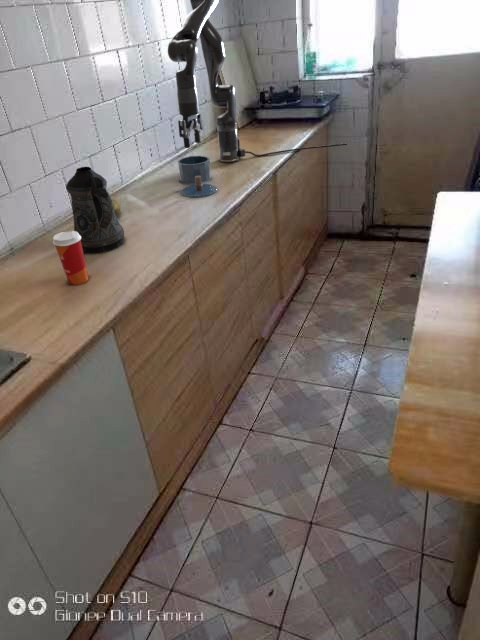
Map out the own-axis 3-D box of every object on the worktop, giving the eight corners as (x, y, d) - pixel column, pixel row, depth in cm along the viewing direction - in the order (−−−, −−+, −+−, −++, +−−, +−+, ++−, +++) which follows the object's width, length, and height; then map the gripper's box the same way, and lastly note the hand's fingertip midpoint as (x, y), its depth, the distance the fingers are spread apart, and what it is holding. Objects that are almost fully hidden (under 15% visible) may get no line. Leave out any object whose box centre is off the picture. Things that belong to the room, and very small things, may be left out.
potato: (129, 210, 184) (125, 190, 179) (112, 223, 174) (107, 202, 169) (111, 209, 186) (106, 189, 182) (92, 222, 176) (87, 201, 172)
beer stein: (94, 231, 169) (76, 159, 155) (142, 235, 163) (128, 161, 149) (65, 251, 156) (43, 175, 142) (116, 257, 150) (98, 178, 136)
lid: (205, 184, 204) (203, 168, 201) (224, 192, 194) (222, 176, 191) (175, 192, 198) (173, 176, 194) (193, 201, 188) (191, 184, 184)
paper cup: (68, 275, 142) (55, 231, 134) (94, 272, 142) (82, 228, 134) (62, 288, 135) (48, 242, 127) (89, 285, 136) (77, 240, 128)
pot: (200, 172, 219) (198, 154, 214) (217, 179, 209) (215, 159, 204) (174, 179, 212) (172, 160, 208) (190, 186, 203) (188, 166, 198)
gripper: (187, 104, 173) (192, 150, 182) (205, 97, 184) (209, 141, 193) (169, 103, 176) (175, 149, 185) (188, 97, 187) (193, 140, 196)
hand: (192, 145), depth 189 cm, fingers open, 8 cm apart
